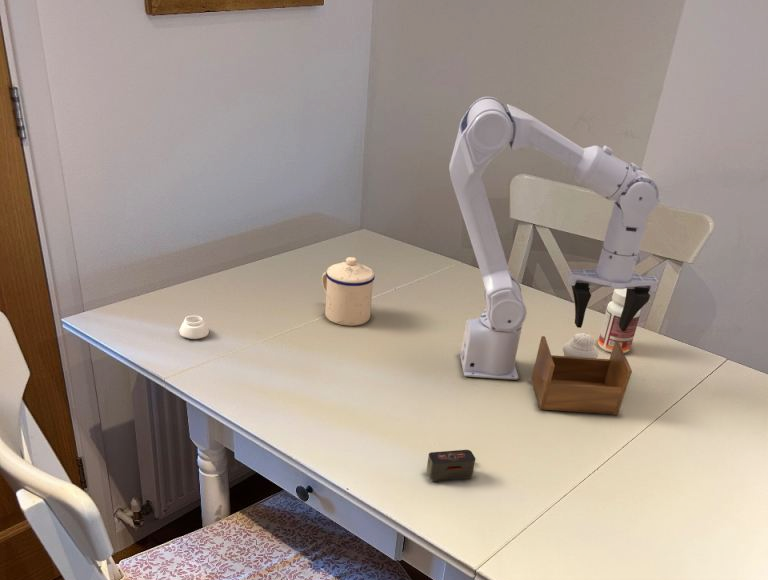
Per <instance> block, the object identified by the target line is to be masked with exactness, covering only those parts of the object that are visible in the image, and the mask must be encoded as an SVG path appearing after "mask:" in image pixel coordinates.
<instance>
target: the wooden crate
mask: <svg viewBox="0 0 768 580" xmlns="http://www.w3.org/2000/svg"><path fill="white" fill-rule="evenodd" d="M632 374H633V370H632V368H631V365H630V363H629V361H628V359H627V357H626V355H625V353H624V352H623V350H622V348H621V346H620V344H619V342H616V341H615V343H614V347H613V350H612V353H611V352H610V357H609V358H599V357H597V358H583V357H569V356H564V355H553V354H552V353H551V349H550V347H549V344H548V341H547V338H546V336H545V335H542V336H541V338H540V341H539V346H538V350H537V353H536V358H535V362H534V366H533V370H532V373H531V383H532V386H533V390H534V392H535V397H536V400H537V401H536V402H537V404H538V408H539V410H543V411H556V412H557V411H558V412H559V411H560V412H572V413H573V412H575V413H587V414H603V415H618V414H619V412H620V409H621V406H622V403H623V400H624V397H625V395H626V391H627V388H628V385H629V382H630V380H631V376H632Z"/></svg>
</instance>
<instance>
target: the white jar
mask: <svg viewBox="0 0 768 580" xmlns="http://www.w3.org/2000/svg"><path fill="white" fill-rule="evenodd" d="M209 333H210V332H209V328H208V326H207V324H206V323H205V321H204V319H203V318H202V316H200V315H187V316H186V317H185V318H184V319H183V321H182V323H181V326H180V327H179V335H180V336H182V337H183V338H186V339H189V340H190V339H191V340H197V339H203V338H205V337H208V334H209Z"/></svg>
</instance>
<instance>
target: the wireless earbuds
mask: <svg viewBox="0 0 768 580" xmlns="http://www.w3.org/2000/svg"><path fill="white" fill-rule="evenodd" d="M475 464H476V457H475V454H474V453H473V452H472V451H471V450H470V449H459V450H456V449H455V450H444V451H432V452H429V453H428V457H427V464H426V470H425V471H426V474H427V475H428V477H429V479H430V481H432V482H437V481H438V482H439V481H450V480H451V481H452V480H461V479H470V478H472V477H473V474H474V470H475Z"/></svg>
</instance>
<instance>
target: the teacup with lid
mask: <svg viewBox="0 0 768 580" xmlns="http://www.w3.org/2000/svg"><path fill="white" fill-rule="evenodd" d="M357 261H358V260H357V258H356V257H353V256H350V257H349V256H348V257H346V259H345V261H342V262H339V263H335V264H332V265H330V266H329V267H327V270H326V271H324V272H323V273H322V274H321V275H322V276H321V285H322V289H323V291H324V293H325V312H324V314H325V317H326V318H327V320H328V321H330V322H332V323H335V324H336V325H340V326H348V327H350V326H351V327H353V326H354V327H355V326H360V325H364V324H366V323H367V322H368V321H369V320H370V319H371V310H372V299H373V288H374V287H373V285H374V280H375V276H376V275H375V273H374V271H373V270H372V269H371V268H370V267H369V266H367V265H364V264H361V263H359V262H357Z"/></svg>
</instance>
